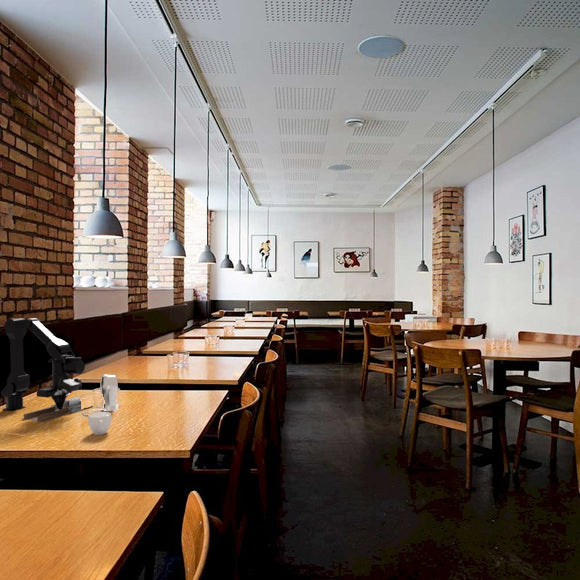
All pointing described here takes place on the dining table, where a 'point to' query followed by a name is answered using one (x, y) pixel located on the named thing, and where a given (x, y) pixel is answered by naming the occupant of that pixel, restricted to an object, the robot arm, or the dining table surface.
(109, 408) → the beer glass
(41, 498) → the dining table surface
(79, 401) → the grey block
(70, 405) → the grey cube
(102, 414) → the cup
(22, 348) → the robot arm
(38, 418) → the slot board
